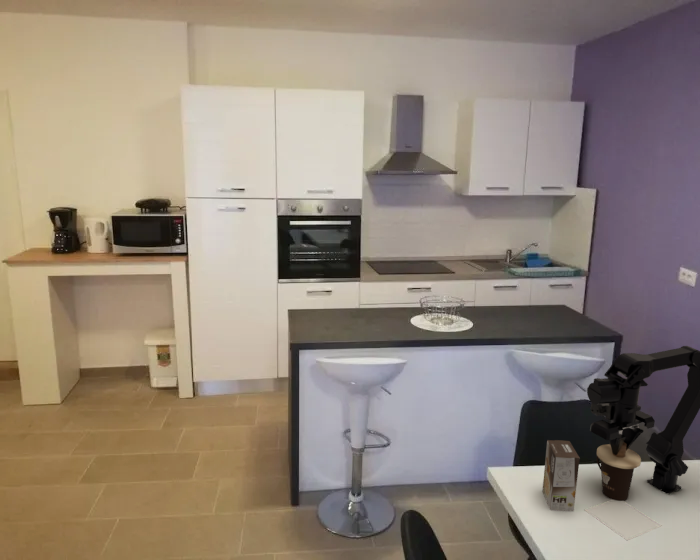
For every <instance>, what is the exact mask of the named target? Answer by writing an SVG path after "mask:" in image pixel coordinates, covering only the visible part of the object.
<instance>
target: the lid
mask: <svg viewBox="0 0 700 560" xmlns="http://www.w3.org/2000/svg"><path fill="white" fill-rule="evenodd" d="M626 446H627V444H626V443H625V442H623V444H622V446H621V448H620V450H619V452H618V454H617V455H615V454H613V453H612V449H611V445H610V443H609V444H602V445H600V446H598V447H597V449H596V457H597V456H598V458H599V461H601V460H602V461H603V462H605V463H607V464H609V465H611V466H614V467H617V468H623V469H634V470H635V469H637V468H639V467H640V466H641V462H642V459H641V458H642V457H641V456H640V454H638V453H637V452H636V451H634V450H633V449H631V448H630V447H629V448H628V449H627V451H626Z"/></svg>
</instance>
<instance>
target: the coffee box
mask: <svg viewBox="0 0 700 560" xmlns="http://www.w3.org/2000/svg"><path fill="white" fill-rule="evenodd" d="M580 459H581V458H580V456H579V454H578V453H577V451H576V449H575V448H574V446H573V444H572V443H571V441H570V440H560V439H559V440H558V439H554V440H550V439H547V441H546V450H545V459H544V460H545V461H544V471H543V480H542V494H543V497H544V498H545V501H546V503H547V505H548V508H549V510H550V511H559V512H574V510H575V509H574V508H575V502H576V494H577V485H578V478H579V477H578V476H579V468H580V467H579V466H580Z"/></svg>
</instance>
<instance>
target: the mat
mask: <svg viewBox="0 0 700 560" xmlns="http://www.w3.org/2000/svg"><path fill="white" fill-rule="evenodd" d="M584 512H586V513H588V514H589V515H590V516H592V517H593V518H595V519H596V520H598V521H599V522H600V523H602V524H603V525H605V526H606V527H607V528H608V529H610V530H611V531H613V532H614V533H615V534H617V535H619V536H620V537H621V538H623V539H624V540H626V541H629V540H632V539H634V538H637V537H639V536H641V535H644V534H646V533H648V532H649V533H650V532H651V531H653V530H656V529H658V528H660V527H662V526H663V525H661V524H660V523H659V522H657V521H656V520H654V519H652V518H651V517H649V516H648V515H646V514H645V513H643V512H642V511H640V510H639V509H637V508H636V507H634V506H633V505H630V504H629V503H627V502H626V501H625V500H624V501H618V500H613V499H609V500H607V501H605V502H601V503H599V504H596V505H593V506H590V507H588V508H585V509H584Z"/></svg>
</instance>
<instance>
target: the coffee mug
mask: <svg viewBox="0 0 700 560" xmlns="http://www.w3.org/2000/svg"><path fill="white" fill-rule="evenodd" d="M596 464H597V466H598V468H599V470H600V472H601V489H602V494H603V495H604V496H605V497H607V498H608V499H609V500H612V499H613V500H618V501H624V502H625V501H626V500H628V498H629V493H630V490H631V485H632V479H633V475H634V471H635V468H634V469H623V468H617V467H614V466H611V465H609V464H607V463H605V462H603V461H602V460H600V459H599V458H598V456H597V455H596Z"/></svg>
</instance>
